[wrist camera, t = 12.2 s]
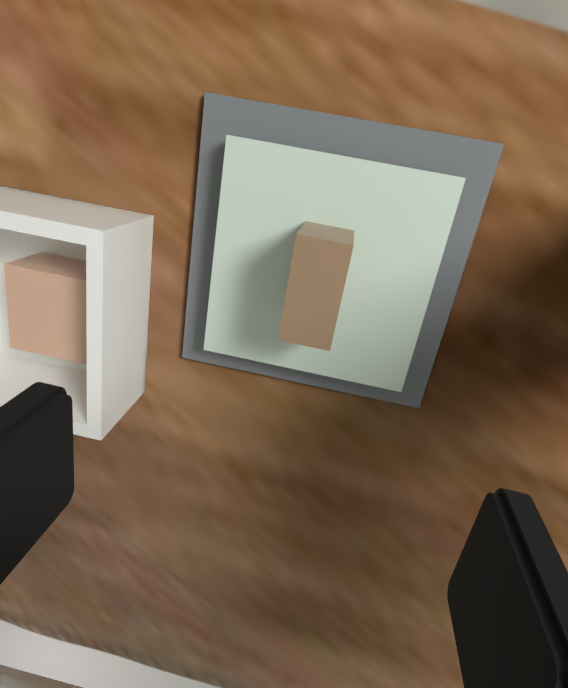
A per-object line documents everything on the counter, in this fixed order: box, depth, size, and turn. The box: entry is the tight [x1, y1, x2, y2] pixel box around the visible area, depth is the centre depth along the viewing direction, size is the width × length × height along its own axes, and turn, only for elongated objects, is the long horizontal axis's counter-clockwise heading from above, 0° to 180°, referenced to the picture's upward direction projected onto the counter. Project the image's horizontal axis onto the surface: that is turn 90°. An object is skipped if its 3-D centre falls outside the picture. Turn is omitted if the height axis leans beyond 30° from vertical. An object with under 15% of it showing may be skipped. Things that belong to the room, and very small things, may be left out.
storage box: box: [0, 186, 154, 440], centre depth 32 cm, size 14×14×7 cm
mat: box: [182, 92, 504, 408], centre depth 32 cm, size 18×18×1 cm
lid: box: [203, 135, 466, 392], centre depth 28 cm, size 14×14×7 cm
